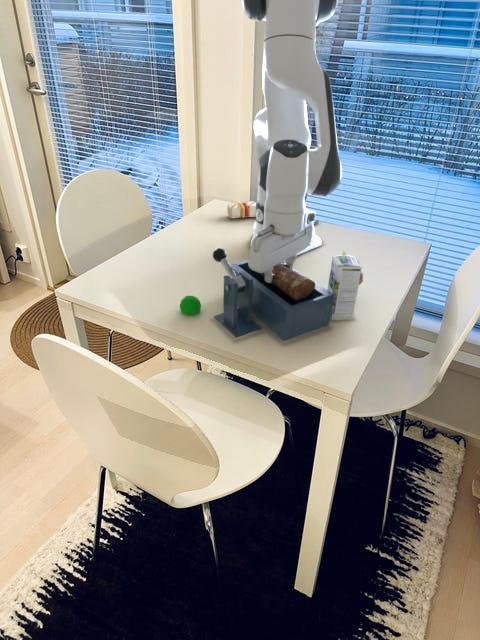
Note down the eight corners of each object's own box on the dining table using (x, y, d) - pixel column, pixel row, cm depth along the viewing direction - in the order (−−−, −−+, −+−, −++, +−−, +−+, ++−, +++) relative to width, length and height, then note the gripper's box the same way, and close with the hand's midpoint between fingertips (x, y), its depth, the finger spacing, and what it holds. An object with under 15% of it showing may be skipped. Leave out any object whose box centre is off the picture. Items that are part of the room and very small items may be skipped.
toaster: (269, 284, 134) (271, 254, 129) (329, 328, 117) (333, 294, 113) (228, 297, 128) (228, 265, 123) (284, 344, 111) (287, 310, 107)
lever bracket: (213, 320, 119) (213, 272, 112) (238, 312, 122) (239, 264, 115) (236, 341, 112) (237, 291, 105) (261, 332, 115) (264, 283, 108)
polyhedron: (193, 306, 124) (192, 289, 121) (205, 315, 121) (205, 297, 118) (176, 313, 121) (175, 296, 119) (188, 322, 118) (187, 304, 116)
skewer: (231, 221, 171) (232, 207, 168) (226, 215, 176) (226, 201, 173) (288, 215, 177) (289, 201, 174) (280, 209, 182) (281, 195, 179)
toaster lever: (209, 256, 116) (211, 246, 114) (221, 253, 118) (224, 243, 115) (233, 295, 111) (236, 286, 109) (245, 292, 113) (249, 283, 110)
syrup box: (323, 308, 125) (330, 255, 117) (347, 307, 125) (355, 254, 117) (329, 321, 120) (336, 266, 112) (353, 320, 120) (362, 265, 113)
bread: (293, 306, 111) (296, 283, 108) (246, 270, 124) (247, 249, 121) (316, 299, 114) (319, 277, 110) (267, 264, 127) (269, 244, 124)
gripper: (267, 237, 101) (263, 296, 109) (320, 211, 115) (313, 265, 123) (242, 229, 105) (240, 287, 112) (297, 204, 118) (291, 257, 126)
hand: (278, 275), depth 117 cm, fingers closed on bread, 6 cm apart
